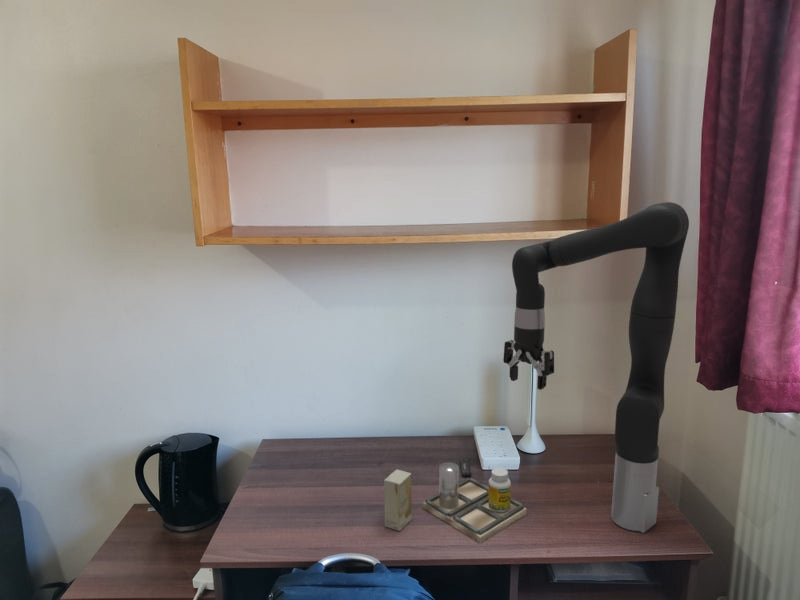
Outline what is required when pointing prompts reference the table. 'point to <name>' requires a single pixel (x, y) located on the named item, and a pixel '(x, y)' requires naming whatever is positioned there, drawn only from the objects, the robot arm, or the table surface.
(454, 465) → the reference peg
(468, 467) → the usb stick
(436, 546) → the table surface
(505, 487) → the supplement bottle
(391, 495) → the skincare box
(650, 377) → the robot arm
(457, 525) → the wooden compartment tray
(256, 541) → the table surface
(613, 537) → the table surface
